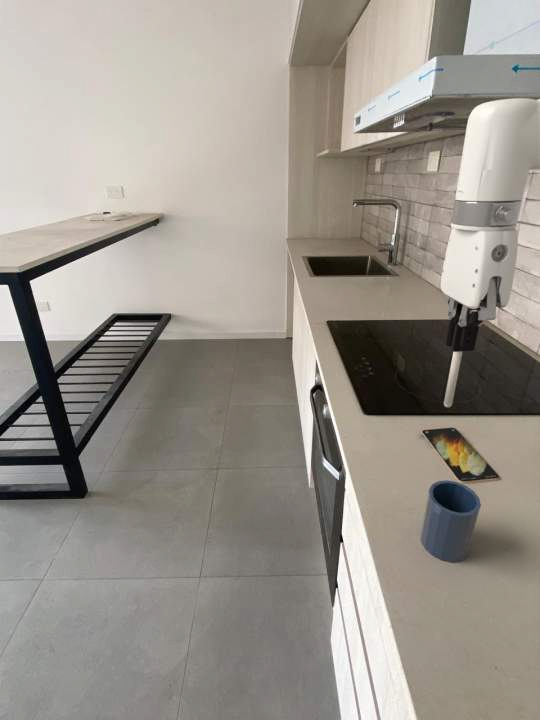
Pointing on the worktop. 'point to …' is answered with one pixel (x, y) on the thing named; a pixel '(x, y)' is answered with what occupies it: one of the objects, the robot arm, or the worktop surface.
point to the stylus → (452, 378)
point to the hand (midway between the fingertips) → (459, 347)
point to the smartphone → (459, 456)
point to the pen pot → (449, 520)
